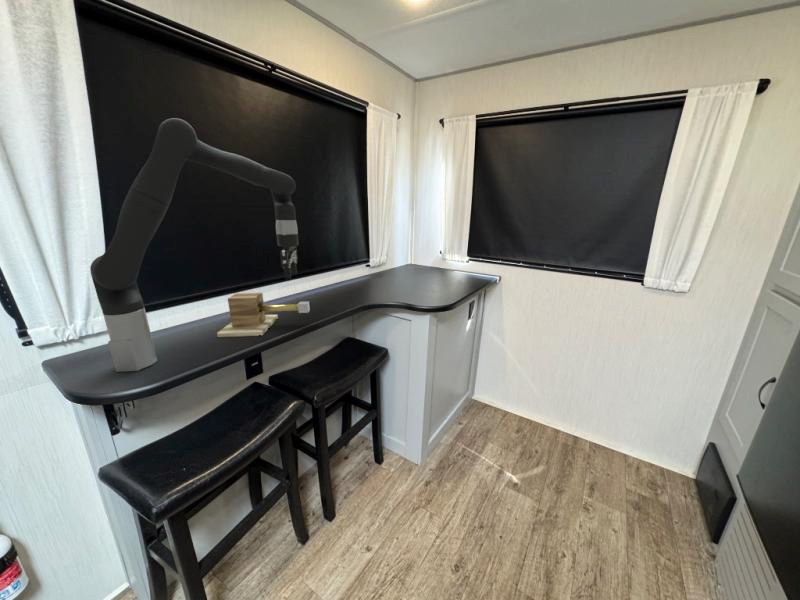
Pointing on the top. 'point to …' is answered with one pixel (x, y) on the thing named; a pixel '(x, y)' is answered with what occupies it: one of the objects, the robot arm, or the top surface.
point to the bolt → (287, 307)
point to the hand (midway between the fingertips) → (290, 275)
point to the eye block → (247, 316)
